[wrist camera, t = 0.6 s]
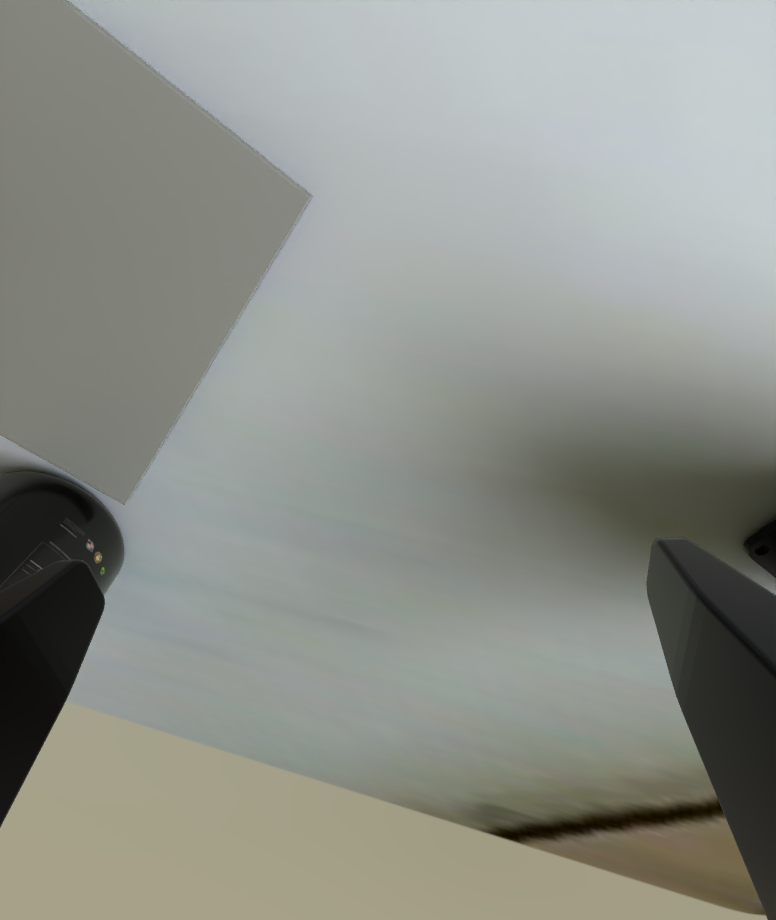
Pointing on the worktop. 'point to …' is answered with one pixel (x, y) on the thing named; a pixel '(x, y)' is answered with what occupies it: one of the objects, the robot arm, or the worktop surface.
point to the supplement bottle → (54, 528)
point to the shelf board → (116, 244)
